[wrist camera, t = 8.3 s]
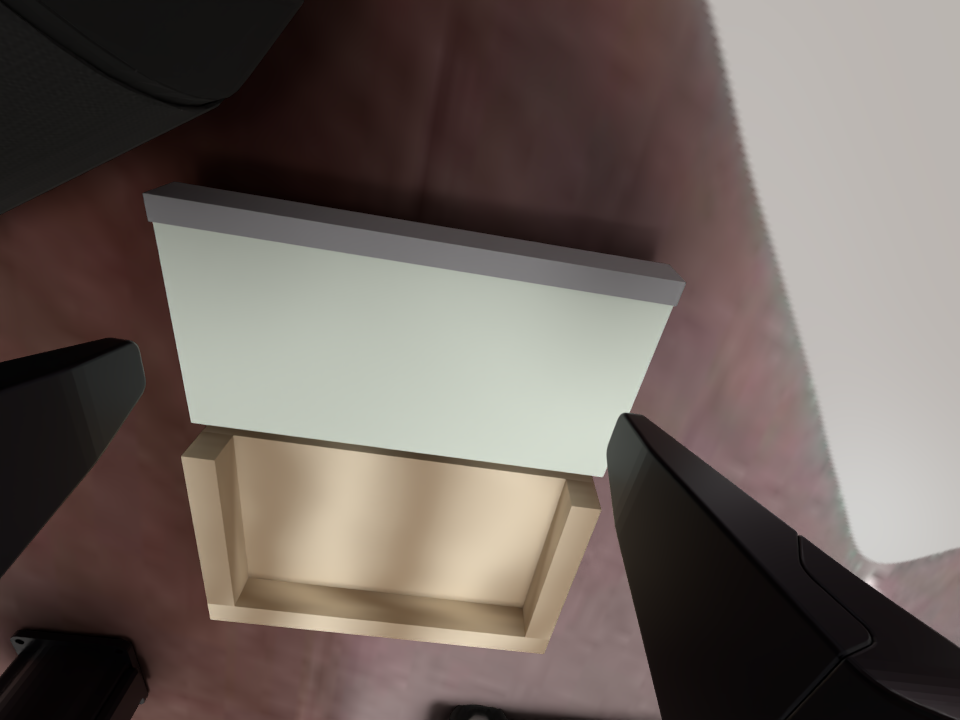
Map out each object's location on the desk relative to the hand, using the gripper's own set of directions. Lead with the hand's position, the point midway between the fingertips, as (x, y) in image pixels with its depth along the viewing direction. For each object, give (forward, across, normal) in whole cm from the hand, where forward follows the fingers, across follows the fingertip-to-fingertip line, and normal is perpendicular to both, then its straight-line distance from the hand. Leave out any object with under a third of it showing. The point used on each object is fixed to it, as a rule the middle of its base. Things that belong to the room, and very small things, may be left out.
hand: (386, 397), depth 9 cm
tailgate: (+8, 0, +7) cm, 10 cm away
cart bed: (+9, 0, +13) cm, 16 cm away
